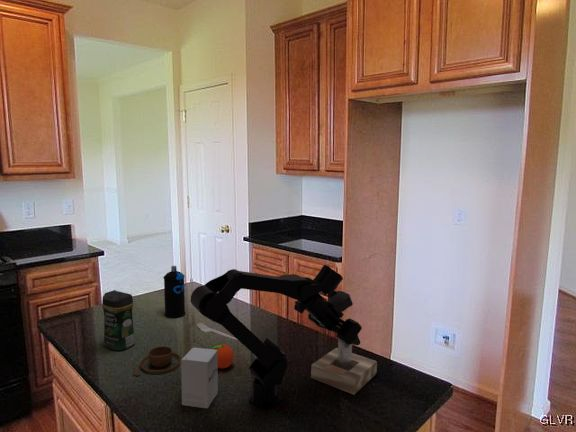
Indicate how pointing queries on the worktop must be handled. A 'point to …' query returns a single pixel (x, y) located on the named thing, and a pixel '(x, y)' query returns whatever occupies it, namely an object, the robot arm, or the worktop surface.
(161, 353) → the place setting
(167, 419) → the worktop surface
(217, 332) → the white plastic spoon
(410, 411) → the worktop surface
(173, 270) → the aerosol can
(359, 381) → the hole block
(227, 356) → the clementine
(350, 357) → the peg
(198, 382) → the supplement box
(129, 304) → the coffee jar
